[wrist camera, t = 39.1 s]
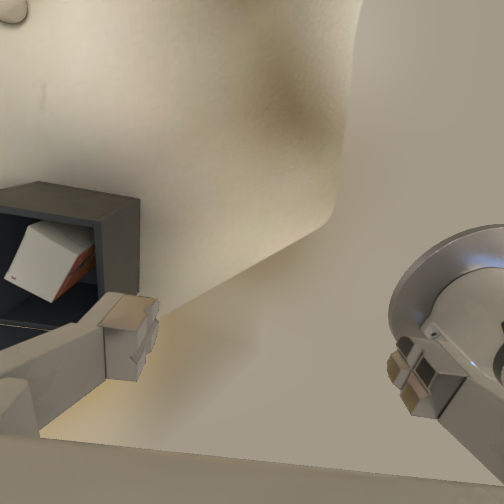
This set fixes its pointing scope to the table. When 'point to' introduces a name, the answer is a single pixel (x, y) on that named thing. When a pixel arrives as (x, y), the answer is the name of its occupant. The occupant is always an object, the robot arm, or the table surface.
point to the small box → (52, 258)
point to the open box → (77, 213)
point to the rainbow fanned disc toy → (12, 10)
